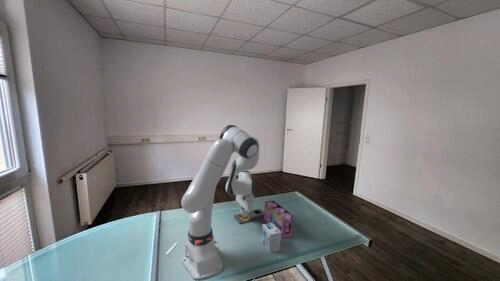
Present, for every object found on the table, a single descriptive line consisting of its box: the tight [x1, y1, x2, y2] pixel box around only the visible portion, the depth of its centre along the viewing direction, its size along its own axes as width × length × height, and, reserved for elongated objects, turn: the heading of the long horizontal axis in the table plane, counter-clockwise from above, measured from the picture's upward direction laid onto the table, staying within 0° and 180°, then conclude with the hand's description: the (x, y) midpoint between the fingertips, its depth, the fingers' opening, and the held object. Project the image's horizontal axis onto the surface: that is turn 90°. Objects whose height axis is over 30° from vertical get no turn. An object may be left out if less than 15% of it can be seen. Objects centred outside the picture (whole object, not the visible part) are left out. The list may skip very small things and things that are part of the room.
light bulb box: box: [261, 223, 282, 254], centre depth 109 cm, size 11×7×11 cm, turn 21°
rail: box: [233, 208, 265, 225], centre depth 139 cm, size 8×22×3 cm, turn 120°
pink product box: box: [263, 200, 294, 239], centre depth 127 cm, size 24×8×14 cm, turn 25°
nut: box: [239, 208, 248, 218], centre depth 135 cm, size 4×4×6 cm
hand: (243, 212), depth 135 cm, fingers closed on nut, 4 cm apart
